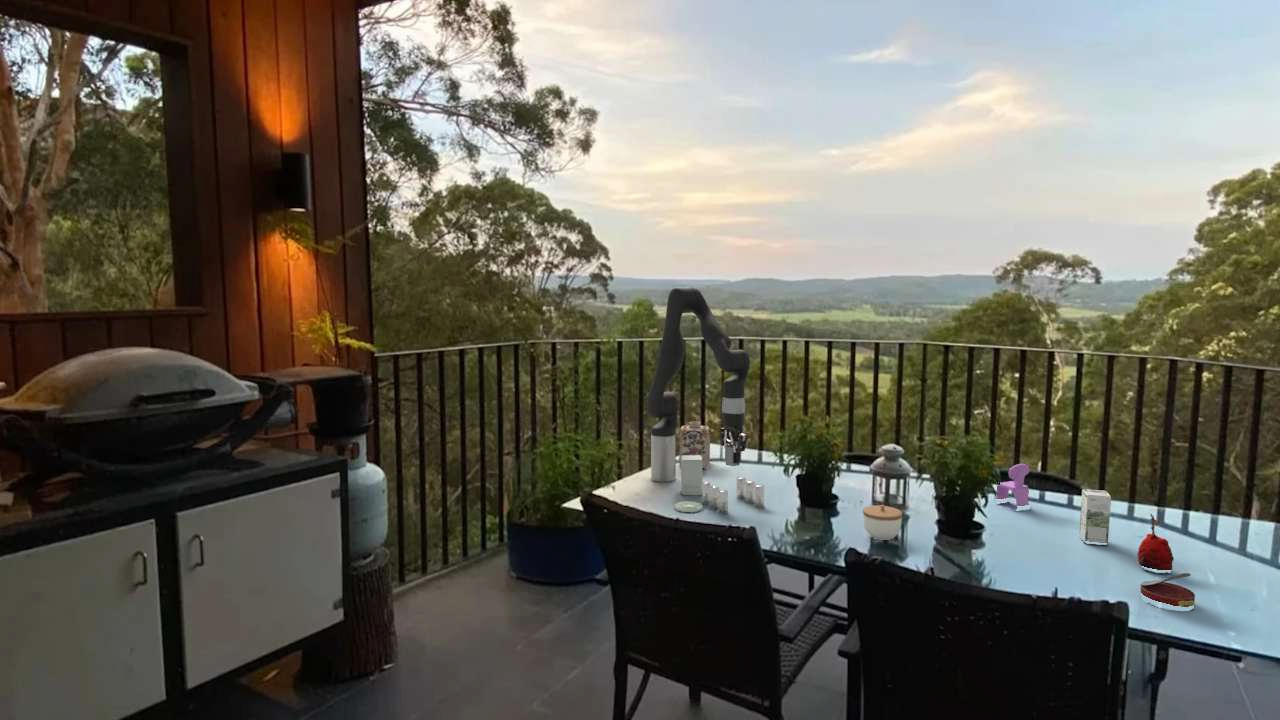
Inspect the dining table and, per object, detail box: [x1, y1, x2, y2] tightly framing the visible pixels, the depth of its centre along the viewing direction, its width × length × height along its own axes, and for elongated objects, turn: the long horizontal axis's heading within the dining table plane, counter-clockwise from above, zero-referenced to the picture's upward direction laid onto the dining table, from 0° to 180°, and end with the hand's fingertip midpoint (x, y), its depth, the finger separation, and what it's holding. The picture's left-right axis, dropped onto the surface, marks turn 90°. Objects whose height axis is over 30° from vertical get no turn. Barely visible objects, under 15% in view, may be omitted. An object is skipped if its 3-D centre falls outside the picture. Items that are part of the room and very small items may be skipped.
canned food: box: [1140, 572, 1196, 607], centre depth 158 cm, size 11×10×10 cm
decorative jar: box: [678, 421, 711, 470], centre depth 286 cm, size 12×12×18 cm
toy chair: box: [996, 463, 1030, 507], centre depth 228 cm, size 8×9×15 cm
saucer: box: [674, 501, 703, 514], centre depth 230 cm, size 9×9×1 cm
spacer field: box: [700, 476, 765, 515], centre depth 233 cm, size 14×17×7 cm
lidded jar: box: [862, 504, 903, 541], centre depth 201 cm, size 11×11×9 cm
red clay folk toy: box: [1137, 513, 1174, 571], centre depth 176 cm, size 8×7×15 cm
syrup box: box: [1078, 488, 1112, 544], centre depth 196 cm, size 6×6×14 cm
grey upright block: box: [725, 445, 740, 467], centre depth 232 cm, size 4×5×6 cm
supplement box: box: [680, 455, 703, 496], centre depth 248 cm, size 7×7×13 cm
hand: (732, 461), depth 232 cm, fingers closed on grey upright block, 4 cm apart
